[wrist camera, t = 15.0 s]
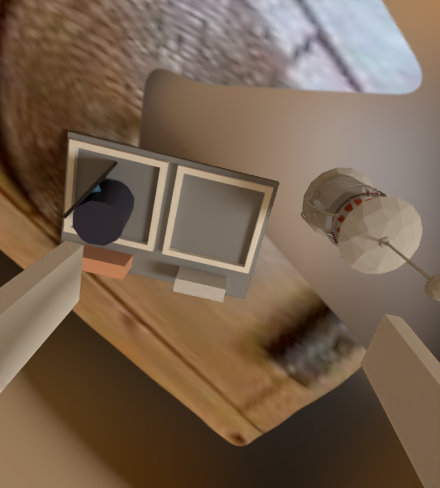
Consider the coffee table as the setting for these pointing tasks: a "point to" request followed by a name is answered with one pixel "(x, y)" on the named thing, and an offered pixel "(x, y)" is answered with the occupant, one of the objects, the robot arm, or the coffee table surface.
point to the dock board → (172, 217)
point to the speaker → (102, 211)
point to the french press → (365, 223)
